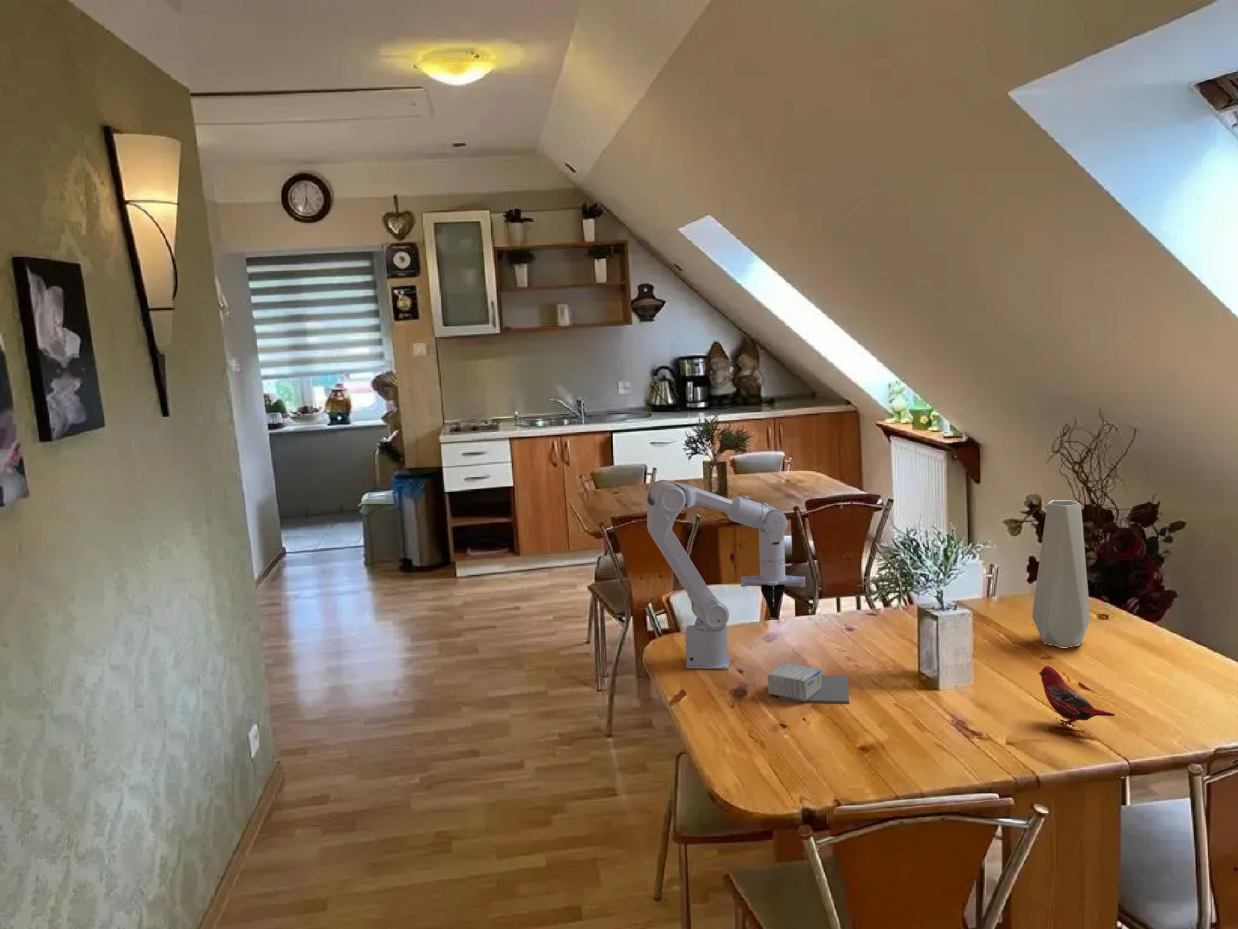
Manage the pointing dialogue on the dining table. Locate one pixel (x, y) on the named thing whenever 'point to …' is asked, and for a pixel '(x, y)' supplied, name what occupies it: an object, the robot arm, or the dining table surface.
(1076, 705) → the decorative bird figurine
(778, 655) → the dining table surface
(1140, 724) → the dining table surface
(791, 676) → the medicine box
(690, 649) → the robot arm
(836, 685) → the mat
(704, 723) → the dining table surface
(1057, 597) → the vase
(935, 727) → the dining table surface
